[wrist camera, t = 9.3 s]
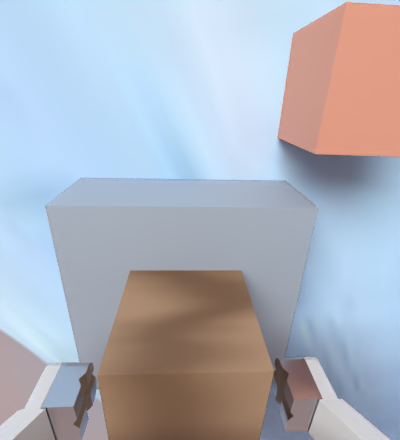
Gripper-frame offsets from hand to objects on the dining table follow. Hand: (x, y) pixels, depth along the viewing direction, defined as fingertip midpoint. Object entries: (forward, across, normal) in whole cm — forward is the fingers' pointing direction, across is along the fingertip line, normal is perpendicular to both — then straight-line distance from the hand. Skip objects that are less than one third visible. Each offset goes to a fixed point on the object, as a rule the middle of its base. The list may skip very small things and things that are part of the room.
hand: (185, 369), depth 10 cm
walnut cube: (+3, 0, 0) cm, 3 cm away
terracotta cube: (+7, -7, -10) cm, 14 cm away
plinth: (+7, 0, 0) cm, 7 cm away
